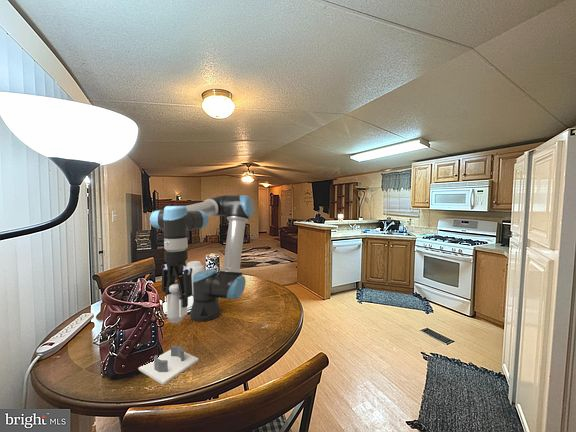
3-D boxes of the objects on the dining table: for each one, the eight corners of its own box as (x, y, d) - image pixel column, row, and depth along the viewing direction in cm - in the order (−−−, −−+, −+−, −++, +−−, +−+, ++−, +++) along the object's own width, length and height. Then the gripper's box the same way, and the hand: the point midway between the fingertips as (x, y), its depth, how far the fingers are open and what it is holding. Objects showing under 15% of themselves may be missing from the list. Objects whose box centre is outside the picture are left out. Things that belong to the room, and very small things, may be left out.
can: (208, 289, 163) (207, 260, 162) (197, 296, 151) (196, 265, 150) (191, 288, 166) (191, 259, 165) (179, 294, 153) (179, 263, 153)
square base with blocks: (138, 369, 84) (138, 358, 84) (174, 349, 96) (174, 338, 96) (162, 385, 77) (162, 372, 77) (198, 360, 89) (198, 349, 89)
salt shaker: (166, 326, 82) (166, 288, 81) (167, 318, 87) (166, 283, 86) (185, 322, 84) (184, 286, 84) (184, 315, 90) (184, 281, 89)
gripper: (149, 248, 86) (150, 312, 87) (185, 254, 77) (186, 324, 78) (168, 245, 93) (169, 304, 94) (203, 250, 84) (204, 315, 85)
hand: (177, 313), depth 86 cm, fingers closed on salt shaker, 6 cm apart
